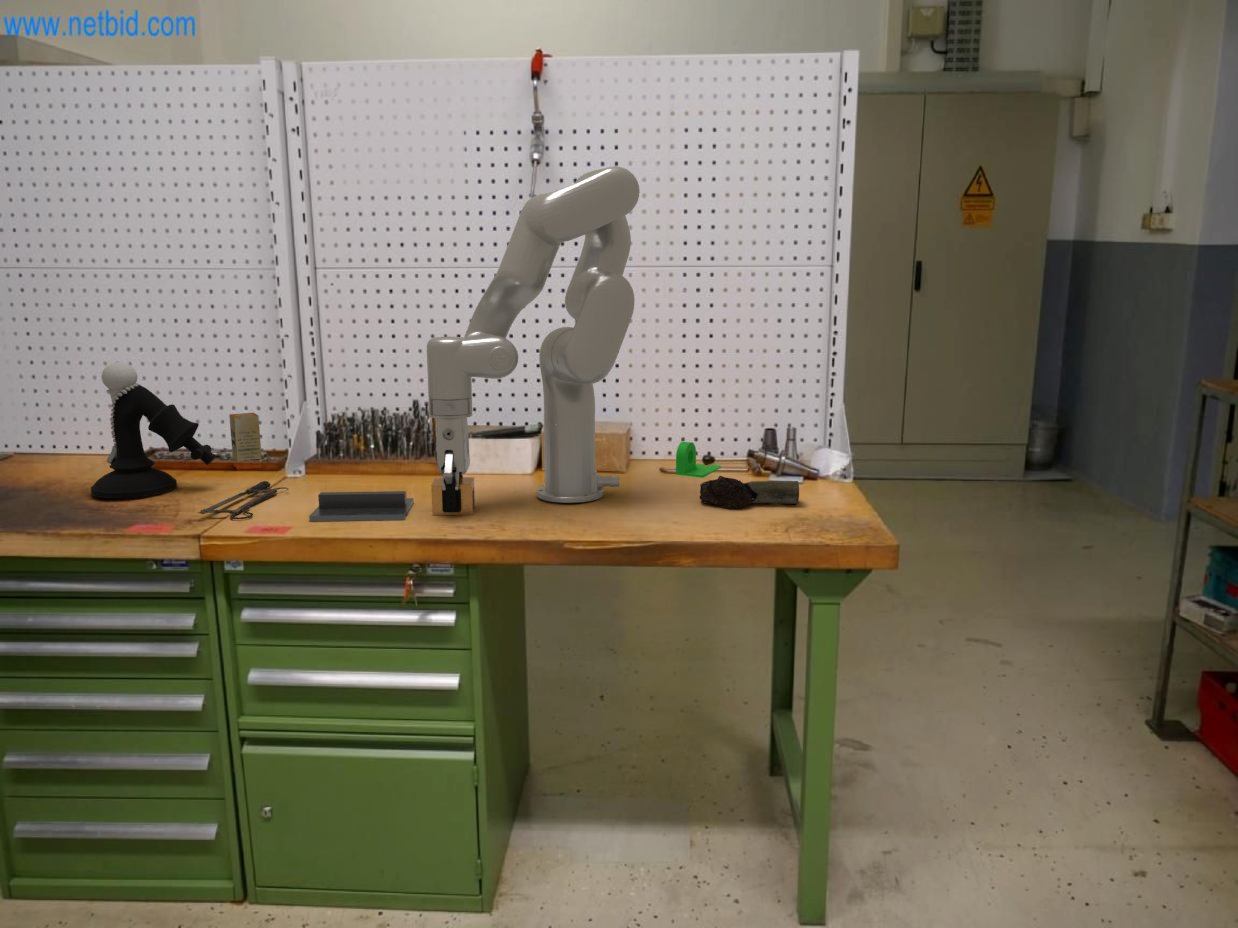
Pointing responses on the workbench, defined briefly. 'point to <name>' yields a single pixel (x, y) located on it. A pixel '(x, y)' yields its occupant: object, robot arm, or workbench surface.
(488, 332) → the robot arm
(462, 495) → the tan wooden block
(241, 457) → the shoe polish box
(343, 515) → the rail
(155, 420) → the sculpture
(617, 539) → the workbench surface
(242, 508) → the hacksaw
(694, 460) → the mechanical part
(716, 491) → the dark elongated piece
